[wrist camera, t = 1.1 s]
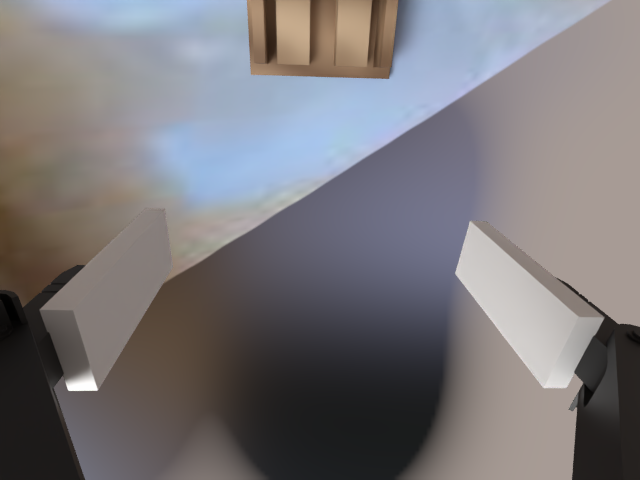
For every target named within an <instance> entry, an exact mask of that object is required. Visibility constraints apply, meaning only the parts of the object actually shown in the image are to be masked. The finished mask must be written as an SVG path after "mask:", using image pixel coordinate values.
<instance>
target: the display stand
mask: <svg viewBox="0 0 640 480" xmlns="http://www.w3.org/2000/svg"><path fill="white" fill-rule="evenodd" d="M397 8H398V0H247V9H248V28H249V47H250V66H251V75H282V76H315V77H348V78H381V79H389V73H390V67H391V65H392V56H393V46H394V37H395V27H396V18H397Z"/></svg>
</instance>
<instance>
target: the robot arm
mask: <svg viewBox="0 0 640 480" xmlns="http://www.w3.org/2000/svg"><path fill="white" fill-rule="evenodd" d="M172 267H173V263H172V256H171V249H170V242H169V234H168V227H167V220H166V213H165V209H149V208H145V209H144V210H143V211H142V212H141V213H140V214H139V215H138V216H137V217H136V218H135V219H134V220H133V221H132V222H131V223H130V224H129V225H128V226H127V227H126V228H125V229H123V230H122V231H121V232H120V233H119V234H118V235H117V236H116V237H115V238H114V239H113V240H112V241H111V242H110V243H109V244H108V245H107V246H106V247H105V248H104V249H103V250H101V251H100V252H99V253H98V254H97V255H96V256H95V257H94V258H93V259H92V260H91V261H90V262H89V263H88V264H87V265H77V266H75V267H73V268H71V269H69V270H67V271H65V272H63V273H61V274H60V275H59V276H58V277H57V278H56V279H55V280H53V281H52V282H51V285H48V286H47V287H46V288H44V289H43V290H42V293H39V294H38V295H37V296H35V297H34V298H33V299H32V300H31V301H30V302H29V303H28V304H26V305H25V306H24V307H23V308H22V305H21V303H20V300H19V297H18V296H17V295H16V294H15V293H14V292H11V291H7V290H0V480H85V478H84V475H83V472H82V469H81V466H80V463H79V460H78V457H77V455H76V452H75V449H74V446H73V443H72V440H71V437H70V434H69V431H68V428H67V425H66V422H65V419H64V416H63V413H62V411H61V408H60V405H59V402H58V399H57V396H56V393H55V391H54V386H55V385H56V384H57V382H58V381H59V380H60V378H61V377H62V376H63V377H64V380H65V382H66V385H67V388H68V390H69V391H74V390H75V391H77V390H79V391H80V390H84V391H85V390H98V389H99V388H100V386H101V384H102V383H103V381H104V379H105V378H106V376H107V374H108V373H109V371H110V369H111V368H112V366H113V365H114V363H115V361H116V359H117V358H118V356H119V354H120V353H121V351H122V350H123V348H124V346H125V345H126V343H127V341H128V340H129V338H130V336H131V335H132V333H133V332H134V330H135V328H136V327H137V325H138V323H139V322H140V320H141V318H142V317H143V315H144V314H145V312H146V310H147V309H148V307H149V305H150V304H151V302H152V300H153V299H154V297H155V295H156V294H157V292H158V290H159V288H160V287H161V286H162V284H163V282H164V281H165V279H166V277H167V276H168V274H169V272H170V271H171V269H172ZM455 274H456V275H457V277H458V278H459V279H460V280H461V282H462V283H463V284H464V285H465V287H466V288H467V289H468V291H469V292H470V293H471V295H472V296H473V297H474V299H475V300H476V301H477V302H478V304H479V305H480V306H481V308H482V309H483V310H484V311H485V313H486V314H487V315H488V317H489V318H490V319H491V321H492V322H493V323H494V325H495V326H496V327H497V328H498V330H499V331H500V332H501V334H502V335H503V336H504V337H505V339H506V340H507V341H508V343H509V344H510V345H511V346H512V348H513V349H514V350H515V352H516V353H517V354H518V356H519V357H520V358H521V360H522V361H523V362H524V363H525V365H526V366H527V367H528V369H529V370H530V371H531V372H532V374H533V375H534V376H535V378H536V379H537V380H538V382H539V383H540V384H541V385H542V387H543V388H567V386H568V384H569V382H570V381H571V379H572V377H573V375H574V373H575V374H576V375H577V376H578V377H579V378H580V379H581V380H582V381H583V385H582V387H581V388H580V390H579V392H578V393H577V395H576V397H575V399H574V400H573V402H572V404H571V406H570V408H569V410H571V411H573V410H574V409H575V407H577V420H576V433H575V447H574V461H573V475H572V480H640V327H638V326H634V325H630V324H629V325H628V324H617V323H616V322H615V321H614V320H613V319H611V318H610V317H609V316H608V315H606V314H605V313H604V312H603V311H601V310H600V309H599V308H597V307H596V306H595V305H594V304H592V303H591V302H588V300H587V299H586V298H585V297H584V296H582V295H581V294H579V293H578V292H577V291H576V290H575V289H574V288H572V287H571V286H570V285H569V284H567V283H565V282H564V281H561V280H560V279H558V278H556V277H554V276H553V275H552V274H550V273H549V272H548V271H547V270H546V269H544V268H543V267H542V266H541V265H539V264H538V263H537V262H536V261H534V260H533V259H532V258H531V257H530V256H528V255H527V254H526V253H525V252H523V251H522V250H521V249H520V248H518V247H517V246H516V245H515V244H514V243H512V242H511V241H510V240H508V239H507V238H506V237H505V236H504V235H502V234H501V233H500V232H499V231H498V230H496V229H495V228H494V227H493V226H491V225H490V224H489V223H488V222H485V221H482V222H481V221H470V224H469V227H468V230H467V234H466V237H465V241H464V245H463V248H462V252H461V255H460V259H459V262H458V266H457V269H456V273H455Z"/></svg>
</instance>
